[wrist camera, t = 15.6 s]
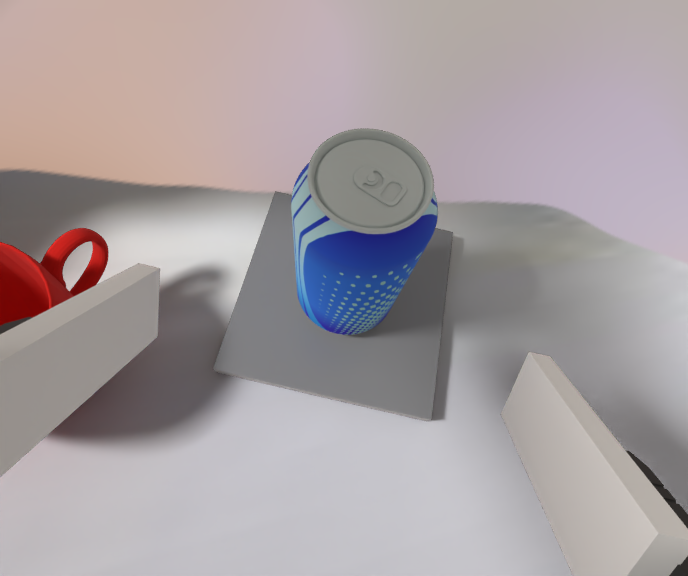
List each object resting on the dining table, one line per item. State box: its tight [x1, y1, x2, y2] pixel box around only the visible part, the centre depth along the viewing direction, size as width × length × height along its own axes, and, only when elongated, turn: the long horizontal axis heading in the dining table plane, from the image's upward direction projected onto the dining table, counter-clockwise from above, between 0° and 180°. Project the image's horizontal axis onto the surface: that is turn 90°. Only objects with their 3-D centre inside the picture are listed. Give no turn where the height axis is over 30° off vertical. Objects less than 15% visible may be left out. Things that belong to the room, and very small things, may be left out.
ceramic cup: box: [0, 228, 108, 326], centre depth 27 cm, size 13×17×10 cm
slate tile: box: [213, 191, 453, 421], centre depth 35 cm, size 18×18×2 cm
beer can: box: [291, 129, 438, 335], centre depth 27 cm, size 8×8×16 cm
